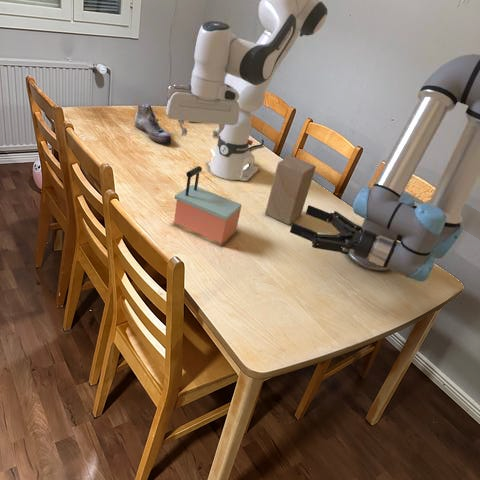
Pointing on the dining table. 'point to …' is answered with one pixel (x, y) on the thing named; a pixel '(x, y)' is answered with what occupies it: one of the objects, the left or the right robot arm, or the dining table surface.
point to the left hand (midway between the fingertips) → (199, 136)
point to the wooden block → (289, 189)
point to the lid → (206, 198)
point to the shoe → (151, 124)
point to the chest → (205, 223)
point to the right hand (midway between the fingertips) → (299, 218)
